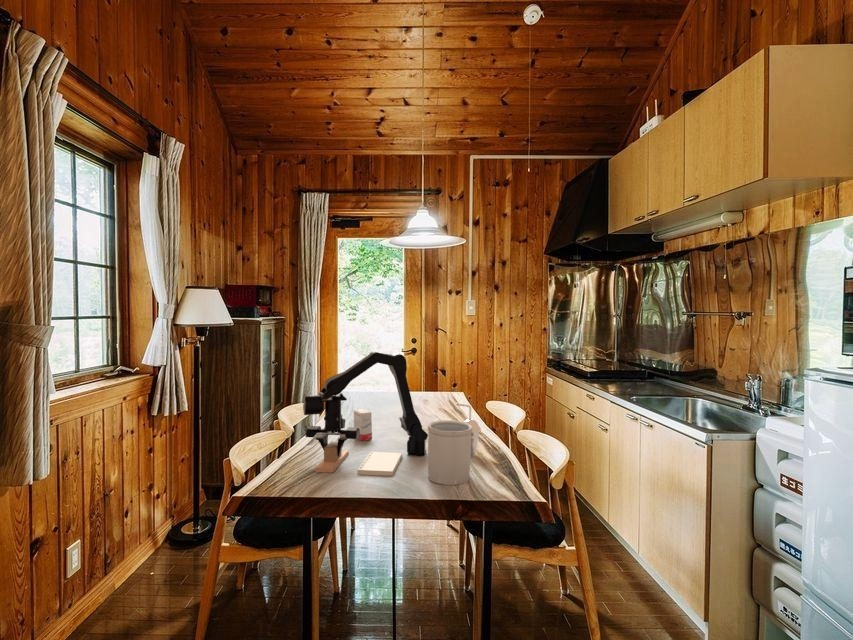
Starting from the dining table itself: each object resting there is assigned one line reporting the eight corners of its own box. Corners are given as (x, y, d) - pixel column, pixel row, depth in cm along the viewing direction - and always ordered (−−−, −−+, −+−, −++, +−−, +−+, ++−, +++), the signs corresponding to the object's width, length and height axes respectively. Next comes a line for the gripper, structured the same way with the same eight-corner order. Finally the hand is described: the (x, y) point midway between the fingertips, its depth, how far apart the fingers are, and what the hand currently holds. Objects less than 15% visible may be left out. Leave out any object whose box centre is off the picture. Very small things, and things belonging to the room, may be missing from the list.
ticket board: (402, 457, 176) (402, 452, 176) (392, 475, 156) (392, 471, 156) (370, 455, 177) (370, 451, 177) (357, 474, 157) (357, 469, 157)
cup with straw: (478, 459, 174) (479, 406, 173) (454, 457, 177) (455, 404, 176) (482, 452, 182) (483, 401, 182) (459, 450, 185) (460, 400, 184)
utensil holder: (474, 472, 161) (474, 421, 160) (468, 488, 146) (469, 432, 146) (432, 468, 164) (433, 418, 164) (422, 483, 150) (423, 429, 149)
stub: (348, 454, 178) (348, 437, 178) (332, 472, 158) (332, 453, 158) (333, 453, 179) (333, 436, 179) (315, 471, 159) (315, 452, 159)
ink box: (372, 439, 199) (372, 412, 199) (361, 441, 196) (361, 413, 196) (363, 434, 206) (363, 408, 206) (352, 436, 203) (353, 409, 203)
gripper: (363, 409, 175) (363, 450, 176) (315, 407, 177) (315, 448, 178) (356, 415, 164) (355, 459, 165) (304, 414, 166) (304, 457, 167)
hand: (332, 455), depth 169 cm, fingers closed on stub, 4 cm apart
